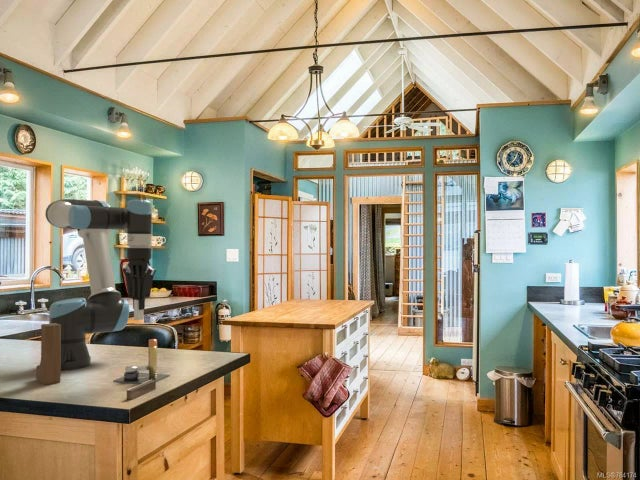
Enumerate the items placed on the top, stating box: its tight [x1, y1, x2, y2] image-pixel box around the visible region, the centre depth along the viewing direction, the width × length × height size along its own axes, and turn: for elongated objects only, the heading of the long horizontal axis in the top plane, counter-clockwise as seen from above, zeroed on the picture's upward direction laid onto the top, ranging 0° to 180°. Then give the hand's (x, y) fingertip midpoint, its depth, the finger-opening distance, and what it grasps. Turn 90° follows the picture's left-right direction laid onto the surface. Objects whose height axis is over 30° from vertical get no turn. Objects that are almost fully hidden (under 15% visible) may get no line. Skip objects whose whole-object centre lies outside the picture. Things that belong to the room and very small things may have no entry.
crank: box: [125, 338, 158, 373], centre depth 173 cm, size 10×4×10 cm, turn 120°
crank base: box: [112, 345, 171, 385], centre depth 173 cm, size 13×12×10 cm
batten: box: [126, 380, 157, 401], centre depth 155 cm, size 2×12×3 cm, turn 165°
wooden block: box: [35, 323, 62, 385], centre depth 170 cm, size 9×4×18 cm, turn 44°
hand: (138, 319), depth 178 cm, fingers closed
